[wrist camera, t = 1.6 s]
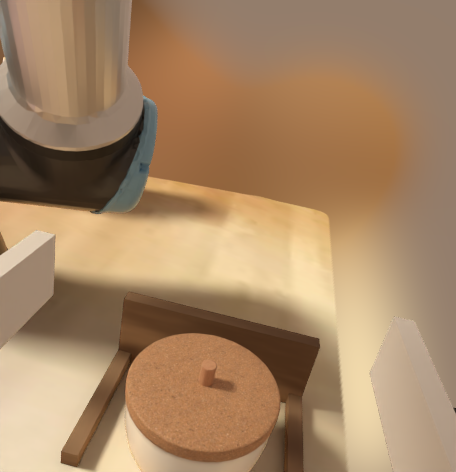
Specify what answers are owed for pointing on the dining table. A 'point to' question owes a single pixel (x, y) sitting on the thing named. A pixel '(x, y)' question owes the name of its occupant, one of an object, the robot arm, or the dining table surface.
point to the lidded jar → (199, 405)
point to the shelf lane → (204, 322)
